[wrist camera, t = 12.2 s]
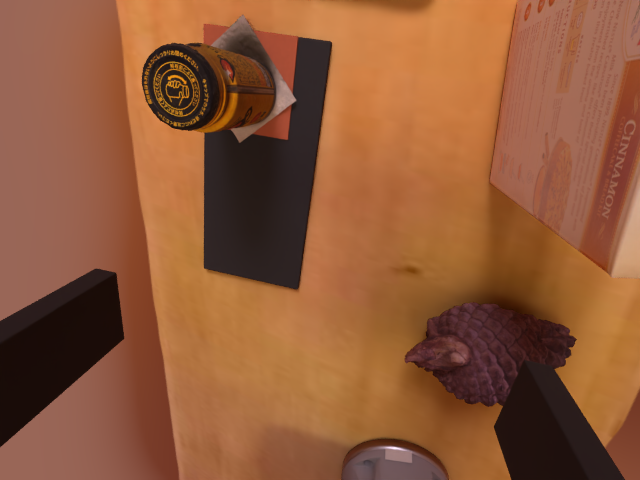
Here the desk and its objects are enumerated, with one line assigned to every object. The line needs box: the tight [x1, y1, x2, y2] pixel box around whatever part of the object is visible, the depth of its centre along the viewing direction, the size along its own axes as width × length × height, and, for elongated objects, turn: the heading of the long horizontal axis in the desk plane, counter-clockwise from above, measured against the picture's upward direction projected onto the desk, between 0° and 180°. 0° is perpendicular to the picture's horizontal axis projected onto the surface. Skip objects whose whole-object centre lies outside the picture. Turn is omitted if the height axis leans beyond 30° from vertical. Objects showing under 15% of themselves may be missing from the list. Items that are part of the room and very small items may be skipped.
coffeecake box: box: [490, 0, 640, 279], centre depth 20 cm, size 15×7×20 cm, turn 2°
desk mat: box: [204, 24, 332, 289], centre depth 36 cm, size 26×12×1 cm, turn 172°
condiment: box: [142, 15, 296, 143], centre depth 27 cm, size 7×8×12 cm
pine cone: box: [405, 302, 577, 407], centre depth 35 cm, size 18×10×10 cm
